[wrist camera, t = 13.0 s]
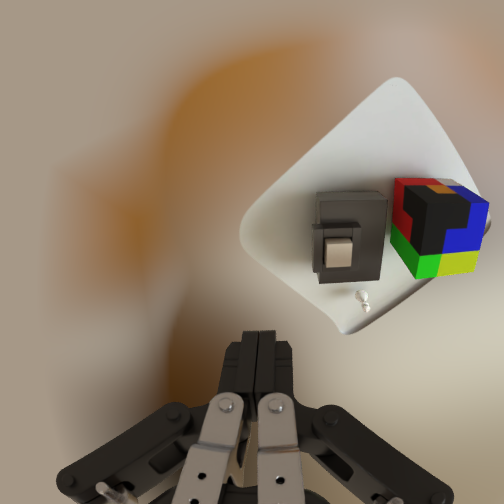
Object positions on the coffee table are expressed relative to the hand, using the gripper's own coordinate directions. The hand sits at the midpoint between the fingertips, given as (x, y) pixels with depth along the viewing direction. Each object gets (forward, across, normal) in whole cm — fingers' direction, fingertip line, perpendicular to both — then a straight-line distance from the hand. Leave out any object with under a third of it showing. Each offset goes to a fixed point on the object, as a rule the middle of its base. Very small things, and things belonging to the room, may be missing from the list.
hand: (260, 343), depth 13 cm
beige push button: (+23, -8, +7) cm, 26 cm away
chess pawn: (+29, -14, +18) cm, 37 cm away
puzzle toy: (+29, -22, +4) cm, 37 cm away
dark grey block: (+29, -10, +7) cm, 32 cm away
